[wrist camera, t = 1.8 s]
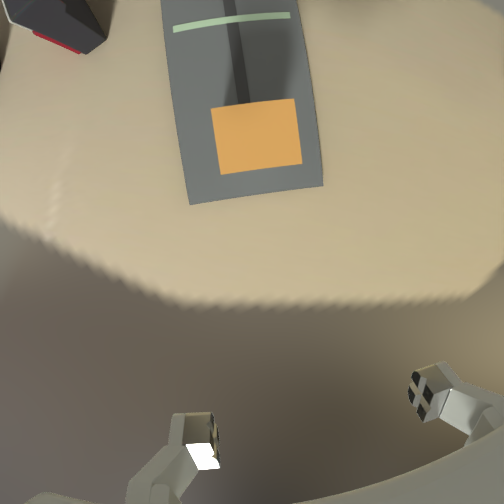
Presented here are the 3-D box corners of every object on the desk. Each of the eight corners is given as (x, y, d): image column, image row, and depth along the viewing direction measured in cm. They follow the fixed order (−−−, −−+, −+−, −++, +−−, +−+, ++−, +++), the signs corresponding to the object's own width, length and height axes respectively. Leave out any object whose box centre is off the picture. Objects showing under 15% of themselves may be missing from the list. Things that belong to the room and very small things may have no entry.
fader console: (289, -17, 25) (291, -22, 23) (320, 184, 33) (323, 186, 32) (162, -1, 25) (159, -6, 23) (191, 202, 33) (189, 205, 32)
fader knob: (274, 110, 29) (294, 98, 19) (280, 155, 30) (302, 163, 21) (217, 118, 29) (210, 108, 19) (224, 163, 30) (220, 174, 21)
